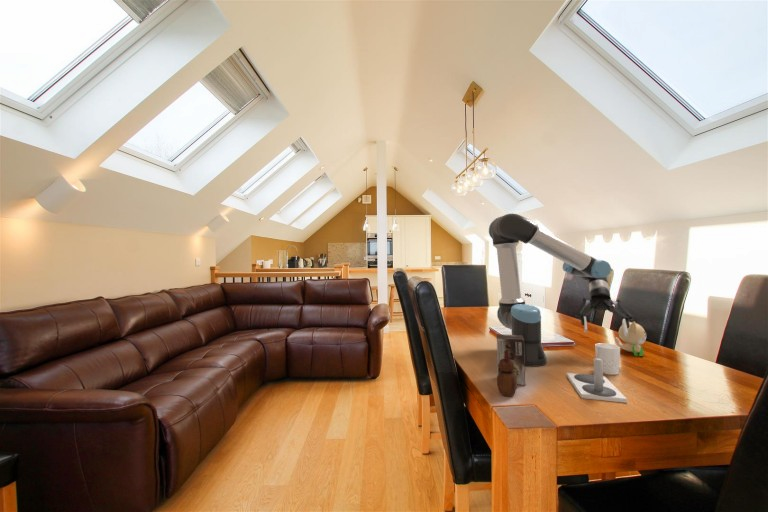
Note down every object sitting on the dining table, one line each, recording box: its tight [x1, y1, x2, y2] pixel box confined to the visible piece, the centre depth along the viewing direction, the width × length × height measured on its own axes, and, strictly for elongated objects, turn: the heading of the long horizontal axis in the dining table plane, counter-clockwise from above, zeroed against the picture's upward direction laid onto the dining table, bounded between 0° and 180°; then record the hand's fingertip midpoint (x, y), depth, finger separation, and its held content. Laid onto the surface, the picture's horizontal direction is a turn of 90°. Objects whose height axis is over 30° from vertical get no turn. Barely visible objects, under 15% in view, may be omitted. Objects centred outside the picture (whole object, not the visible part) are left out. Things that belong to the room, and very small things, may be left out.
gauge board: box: [566, 357, 628, 404], centre depth 105 cm, size 12×19×11 cm, turn 162°
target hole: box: [574, 373, 605, 384], centre depth 109 cm, size 9×9×1 cm
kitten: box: [614, 321, 648, 357], centre depth 144 cm, size 15×10×15 cm, turn 164°
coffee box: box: [496, 333, 527, 386], centre depth 112 cm, size 9×6×16 cm
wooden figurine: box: [496, 350, 518, 397], centre depth 101 cm, size 7×6×15 cm
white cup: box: [594, 342, 621, 376], centre depth 120 cm, size 8×8×10 cm
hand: (605, 332), depth 128 cm, fingers open, 13 cm apart
